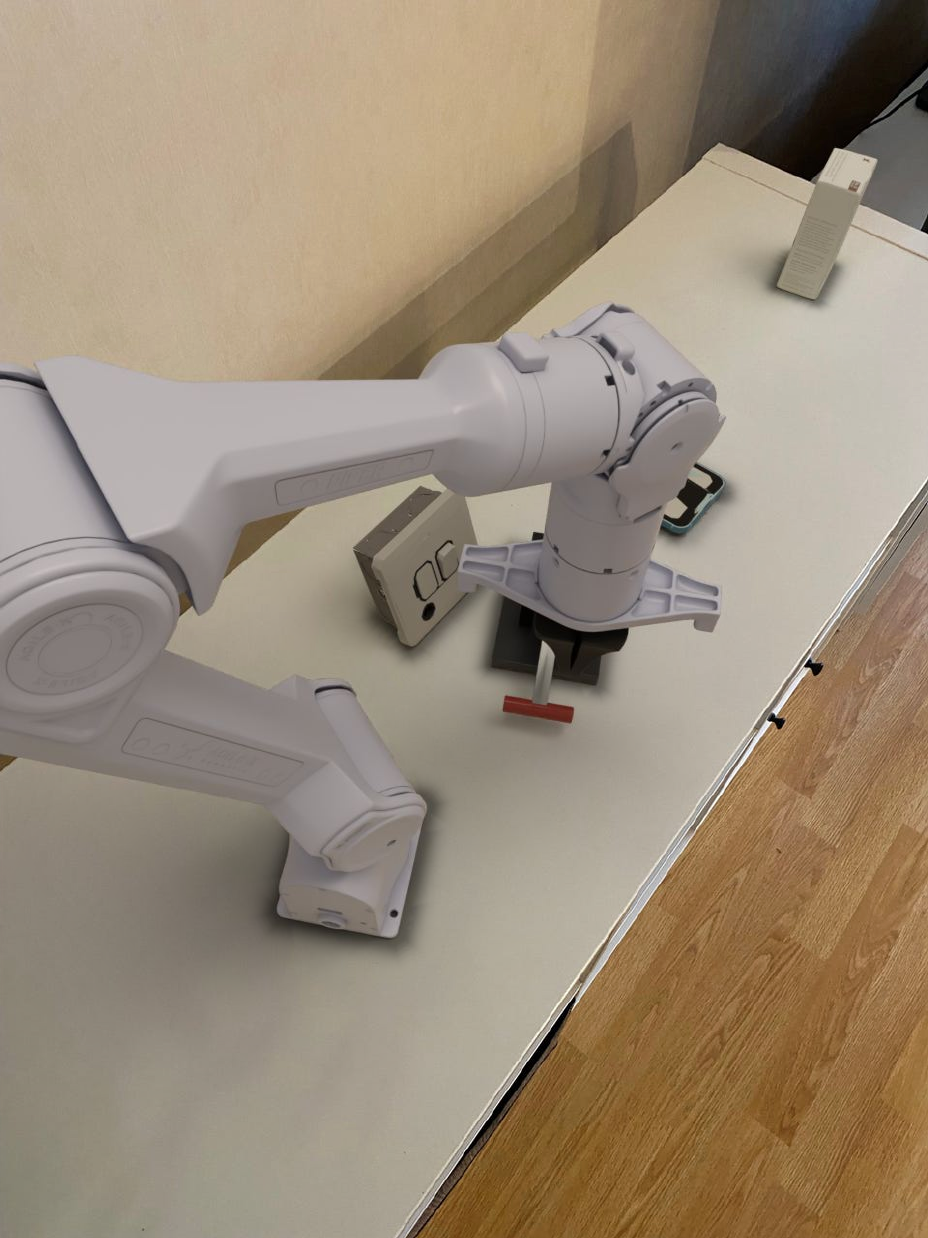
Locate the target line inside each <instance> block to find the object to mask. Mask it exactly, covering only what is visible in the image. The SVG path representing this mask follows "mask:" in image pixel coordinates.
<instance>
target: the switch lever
mask: <svg viewBox="0 0 928 1238" xmlns="http://www.w3.org/2000/svg"><path fill="white" fill-rule="evenodd" d="M554 659H555V655H554V653H553V652H552V650H551V648H550V647H549V646H548V645H547V644H546V643H545V642H544V641H542V644H541V649H540V655H539V661H538V667H537V673H536V674H535V675H536V676H535V679H534V686H533V690H532V698H530V699H529V698H523V697H519V696H512V695H508V694H507V695H504V697H503V704H502V710H501V711H502V713H507V714H514V715H520V716H524V717H530V718H536V719H541V720H546V721H547V720H548V721H552V722H558V723H565V724H571V725H572V723H573V719H574V714H575V707H574V706H570V705H565V704H558V703H554V702H549V701H548V700H549V695H550V690H551V689H550V688H551V683H552V679H553V677H552V671H553V665H554Z"/></svg>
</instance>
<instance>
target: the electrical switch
mask: <svg viewBox="0 0 928 1238" xmlns="http://www.w3.org/2000/svg"><path fill="white" fill-rule="evenodd" d="M471 517H472V516H471V514H470V511H469V505H468V503H467V499H466V497H464V496H461V495H458V494H456V493H454V492H452V491H450V490H449V489H448V488H446V489H445V490H443V491H442V492H441V491H439V490H432V489H430V488H428V487H425V486H422V485H418V487H417V488H416V489H415V490H414V491H412V492H411V493H410V494H409V495H408V496H407V497H406V498H405V499H404V500H403V501H402V502H401V503H400V504H399V505H397V506H396V507H395V508H394V509H393V510H392V511H391V512H390V513H389V514H388V515H387V516H385V517H384V518H383V519H382V520H381V521H380V522H379V523H378V524H377V525H375V527H374V528H373V529H371V530H370V531H369V532H368V533H367V534H366V535H365V536H364V537H363V538H362V539H360V540H359V541H358V542H357V543H356V544H355V545H354V546H353V547H352V548H353V549H352V551H353V553H354V556H355V559H356V561H357V564H358V566H359V568H360V571H361V573H362V576H363V578H364V581H365V583H366V587H367V589H368V591H369V593H370V596H371V598H372V600H373V603H374V606H375V608H376V611H377V613H378V615H379V618H380V620H382V621H384V622H386V623H388V624H390V625H391V626H393V627H394V628H395V629H396V630H397V631H396V633H397V636H398V639H399V641H400V643H402V644H404V645H406V646H409V647H415V646H416V645H418V644H419V643H420V642H421V640H422V639H423V638H425V636H426V635H428V634H429V632H431V630H432V629H434V627H435V626H436V625H437V624H438V623H439V622H440V621H441V620H442V619H443V618H444V617H445V616H446V615H447V614H448V613H449V612H450V611H451V609H453V607H455V606H456V605H457V603H459V601H461V600H462V598H463V597H464V596H465V595H466V594H467V593H468V592H464V591H458V590H457V584H458V568H459V563H460V559H461V555H462V551H463V546H464V544H469V545H478V546H479V544H478V541H477V536H476V532H475V529H474V525H473V521H472V518H471ZM382 592H383V593H382Z"/></svg>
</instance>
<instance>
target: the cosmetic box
mask: <svg viewBox="0 0 928 1238" xmlns="http://www.w3.org/2000/svg"><path fill="white" fill-rule="evenodd" d="M877 164H878V159H877V158H874V157H872V156H869V155H865V154H861V153H858V152H854V151H850V150H847V149H843V148H837V147H834V148H833V149H832V152H831V154H830V156H829V158H828V160H827V162H826V163H825V165H824V167H823V168H822V171H821V173H820V175H819V176H818V178H817V181H816V183H815V185H814V189H813V190H812V194H811V196H810V198H809V201H808V203H807V205H806V207H805V211H804V213H803V216H802V218H801V221H800V224H799V227H798V229H797V231H796V234H795V236H794V239H793V242H792V244H791V247H790V250H789V252H788V255H787V257H786V260H785V263H784V265H783V268H782V271H781V273H780V276H779V278H778V281H777V283H776V287H777V288H779V289H781V290H783V291H785V292H788V293H791V294H794V295H797V296H800V297H803V298H807V299H809V300H816V299H817V298H818V296H819V295H820V293H821V290H822V289H823V287H824V285H825V283H826V281H827V279H828V277H829V275H830V273H831V271H832V269H833V267H834V265H835V262H836V260H837V258H838V257H839V254H840V251H841V249H842V247H843V244H844V242H845V240H846V237H847V234H848V233H849V230H850V227H851V225H852V223H853V221H854V218H855V216H856V213H857V211H858V209H859V207H860V204H861V202H862V200H863V197H864V194H865V193H866V190H867V188H868V186H869V183H870V182H871V181H870V180H871V179H872V176H873V174H874V171H875V169H876V166H877Z"/></svg>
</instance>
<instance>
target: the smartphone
mask: <svg viewBox="0 0 928 1238" xmlns="http://www.w3.org/2000/svg"><path fill="white" fill-rule="evenodd" d="M725 487H726V479H725V478H724V477H723V476H722V475H721V474H720V473H718V472H716V471H714V470H712V469H710V468H708V467H707V466H705V465H703V464H702V463H701V462H698V461H697V462H696V463H695V464H694V466H693V467H692V469H691V471H690V473H689V475H688V478H687V481H686V484H685V487H684V488H683V489H681V490H680V491H679V494H678V495H677V497H676V498H675V499H673V500H671V501H669V502H668V504H667V507H666V510H665V514H664V517H663V520H662V523H661V526H662V527H664V528H666V529H667V530H668V531H670V532H671V533H675V534H685V533H687V532H689V531H690V530H691V529H692V527H694V525H695V524H696V523H697V522H698V521H699V520H700V518H701V517H702V516H703V515H704V514H705V513H706V512H707V511H708V510H709V508H710V507H711V506H712V505H713V504H714V503H715V502H716V500H718V498H719V497H720V496H721V495H722V494H723V492H724V490H725Z"/></svg>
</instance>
